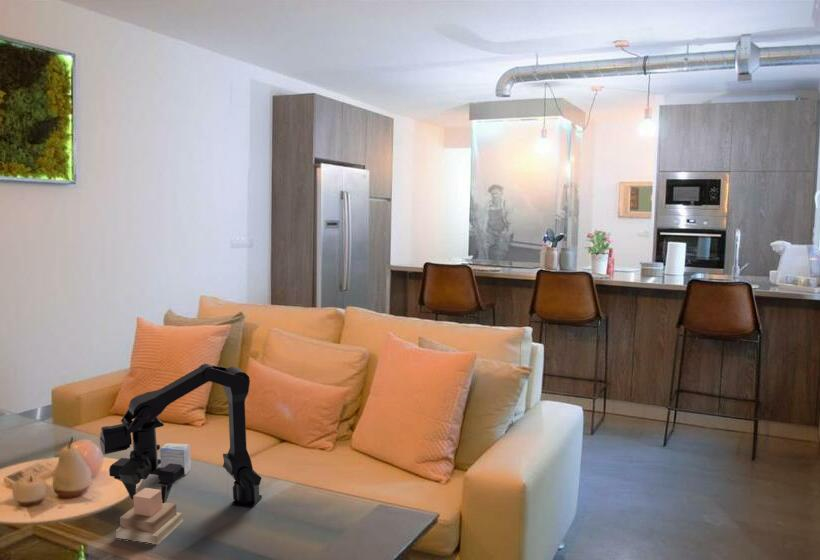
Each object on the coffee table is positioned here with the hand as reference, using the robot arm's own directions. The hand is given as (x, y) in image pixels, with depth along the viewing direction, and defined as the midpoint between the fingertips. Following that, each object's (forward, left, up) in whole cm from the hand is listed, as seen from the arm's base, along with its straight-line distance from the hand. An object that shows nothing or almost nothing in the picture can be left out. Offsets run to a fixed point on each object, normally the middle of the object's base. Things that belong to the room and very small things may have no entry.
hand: (148, 500), depth 182 cm
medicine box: (+12, -32, -9) cm, 35 cm away
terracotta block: (0, 0, -3) cm, 3 cm away
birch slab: (0, 0, -9) cm, 9 cm away
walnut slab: (0, 0, -6) cm, 6 cm away
